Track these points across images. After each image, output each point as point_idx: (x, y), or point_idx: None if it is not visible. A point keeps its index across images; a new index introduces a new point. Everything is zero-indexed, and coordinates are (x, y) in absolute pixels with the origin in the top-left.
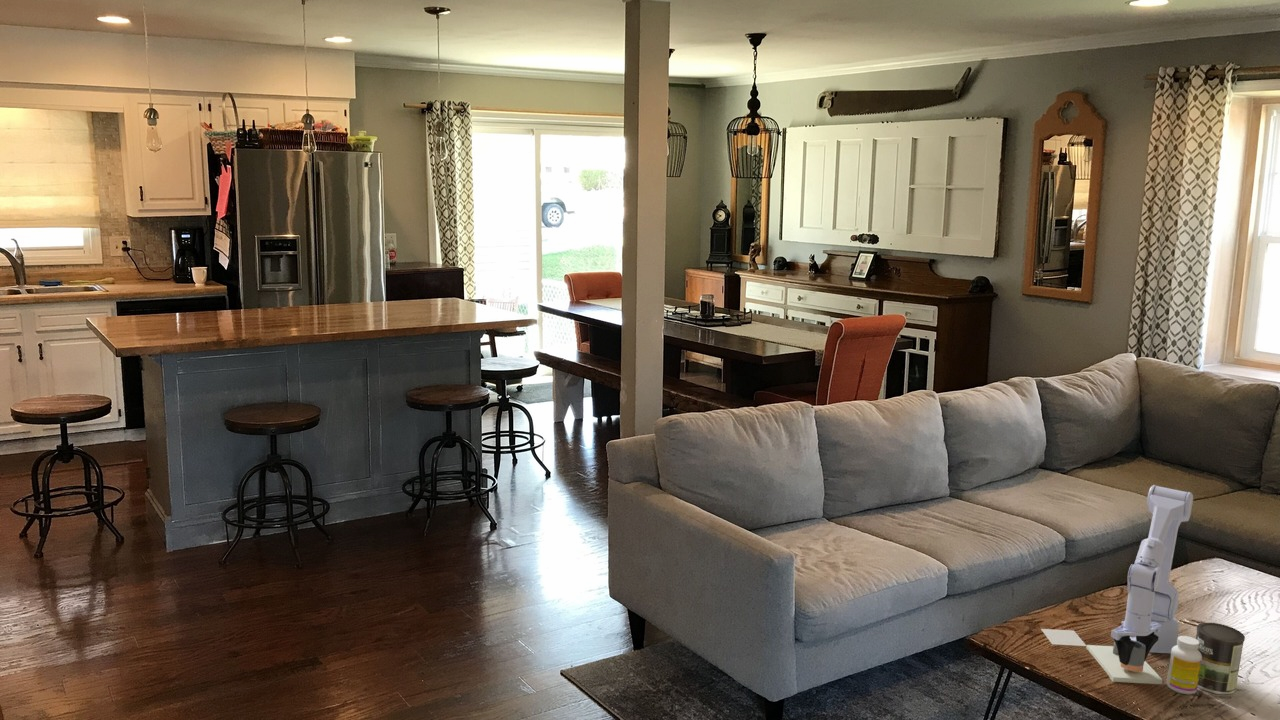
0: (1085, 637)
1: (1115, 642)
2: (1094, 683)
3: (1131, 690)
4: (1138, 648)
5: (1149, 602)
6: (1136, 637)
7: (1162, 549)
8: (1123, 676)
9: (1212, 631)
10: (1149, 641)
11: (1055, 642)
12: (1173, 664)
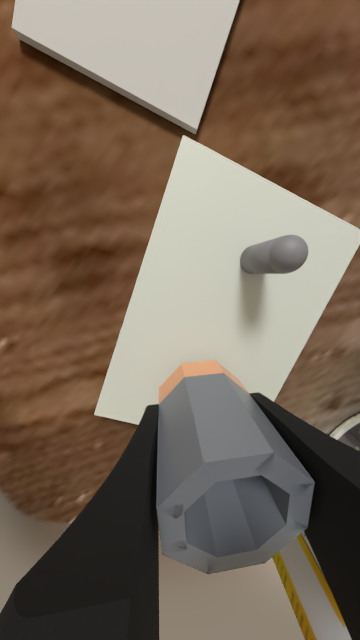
0: (275, 23)
1: (81, 515)
2: (24, 401)
3: (124, 450)
4: (215, 562)
5: None
6: (342, 479)
7: None
8: (137, 415)
9: None
10: (346, 610)
11: (46, 12)
12: (287, 580)
